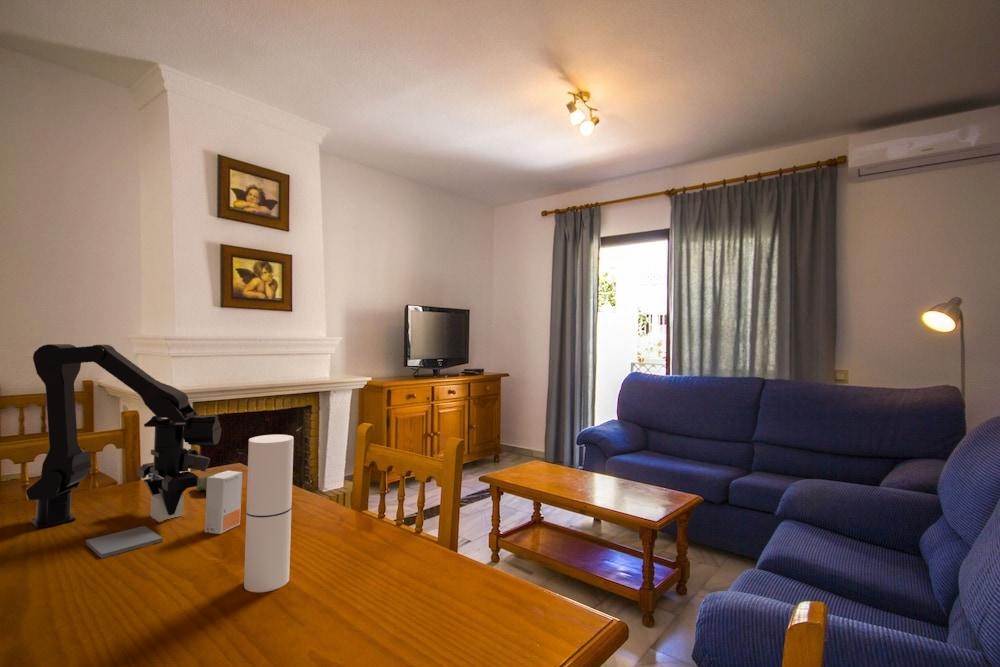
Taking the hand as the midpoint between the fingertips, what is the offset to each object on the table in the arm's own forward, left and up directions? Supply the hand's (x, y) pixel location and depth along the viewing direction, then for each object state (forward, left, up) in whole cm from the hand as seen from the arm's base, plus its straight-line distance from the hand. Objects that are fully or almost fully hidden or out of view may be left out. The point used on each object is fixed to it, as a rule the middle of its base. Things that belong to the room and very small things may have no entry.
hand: (166, 512), depth 115 cm
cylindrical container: (+47, -1, -1) cm, 47 cm away
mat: (+10, -11, -1) cm, 15 cm away
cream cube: (0, 0, -1) cm, 1 cm away
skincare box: (+17, +5, -1) cm, 18 cm away
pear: (-12, +15, -1) cm, 19 cm away
